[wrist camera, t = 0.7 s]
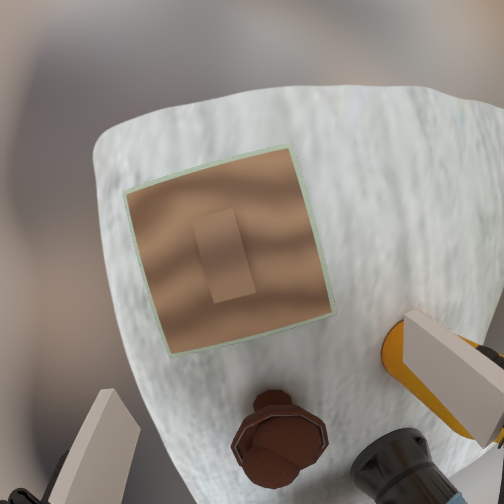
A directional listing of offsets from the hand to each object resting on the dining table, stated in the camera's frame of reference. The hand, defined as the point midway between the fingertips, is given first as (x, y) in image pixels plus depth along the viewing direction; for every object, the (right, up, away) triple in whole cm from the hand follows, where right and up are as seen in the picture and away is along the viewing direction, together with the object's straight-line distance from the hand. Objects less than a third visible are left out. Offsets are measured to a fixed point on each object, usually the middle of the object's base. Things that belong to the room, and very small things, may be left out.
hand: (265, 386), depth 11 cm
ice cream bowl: (+2, -16, +24) cm, 29 cm away
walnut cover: (-3, +5, +22) cm, 23 cm away
